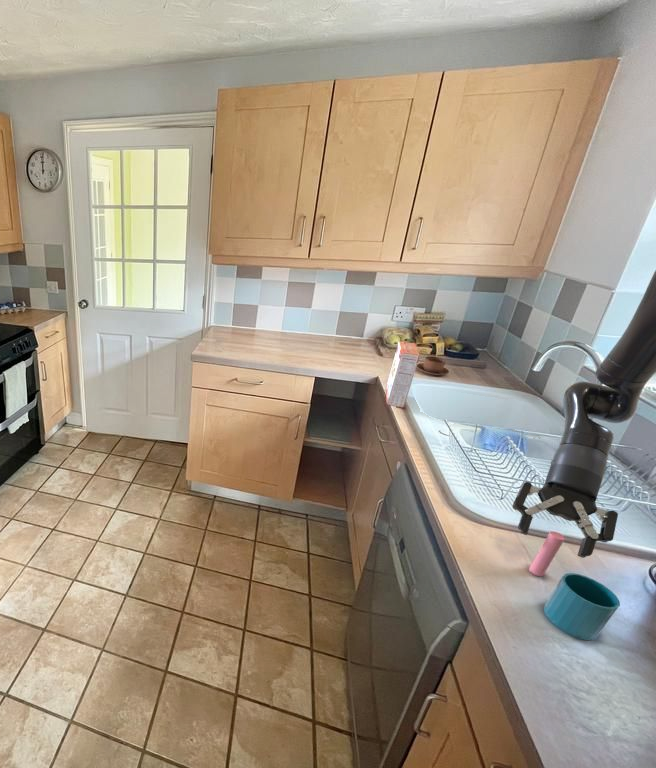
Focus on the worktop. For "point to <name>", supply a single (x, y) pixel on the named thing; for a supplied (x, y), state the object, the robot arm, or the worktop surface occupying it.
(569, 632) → the teal cup
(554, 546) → the pink cylinder
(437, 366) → the cup and saucer
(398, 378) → the cracker box
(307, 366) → the worktop surface
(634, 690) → the worktop surface
